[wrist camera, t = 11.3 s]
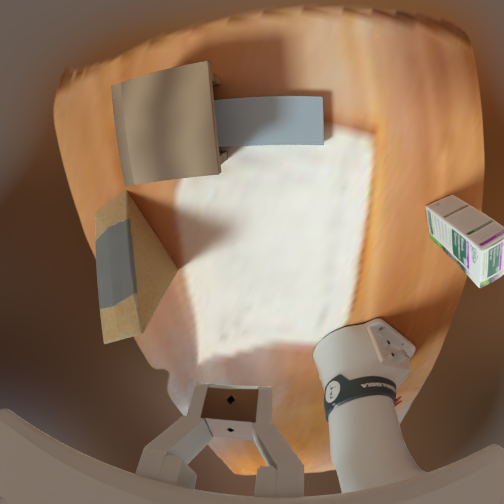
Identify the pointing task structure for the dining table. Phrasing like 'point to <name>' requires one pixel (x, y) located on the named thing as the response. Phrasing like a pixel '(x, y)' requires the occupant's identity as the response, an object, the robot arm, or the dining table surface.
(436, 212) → the syrup box
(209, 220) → the dining table surface
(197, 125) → the open wooden box
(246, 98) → the panel
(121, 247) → the sandwich container
